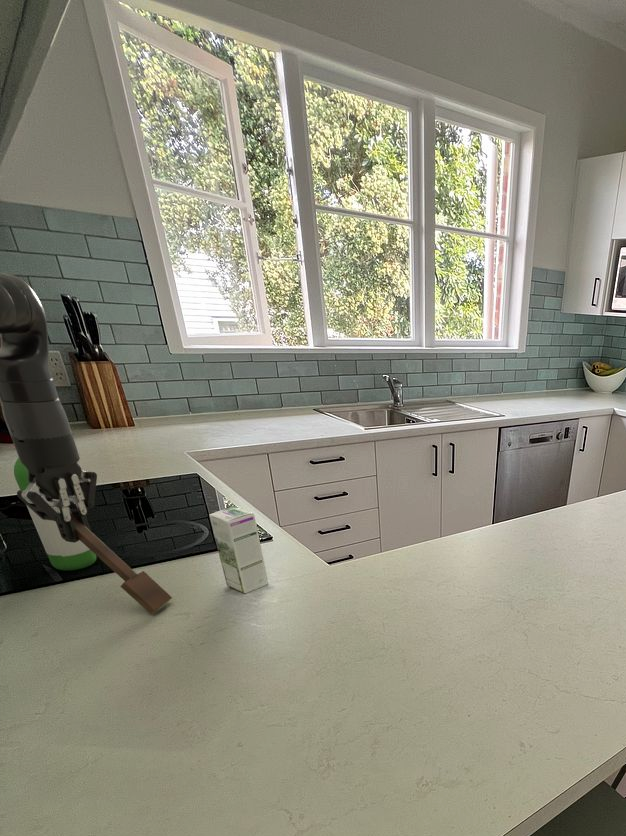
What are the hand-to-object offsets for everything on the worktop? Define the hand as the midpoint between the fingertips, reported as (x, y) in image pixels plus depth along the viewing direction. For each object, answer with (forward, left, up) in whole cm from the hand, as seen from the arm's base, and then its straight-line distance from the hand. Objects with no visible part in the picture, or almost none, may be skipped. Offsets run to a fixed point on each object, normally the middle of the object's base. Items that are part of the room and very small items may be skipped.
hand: (77, 538), depth 91 cm
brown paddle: (+5, +1, -4) cm, 7 cm away
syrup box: (+18, +17, -12) cm, 27 cm away
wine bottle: (-19, +8, -12) cm, 24 cm away
